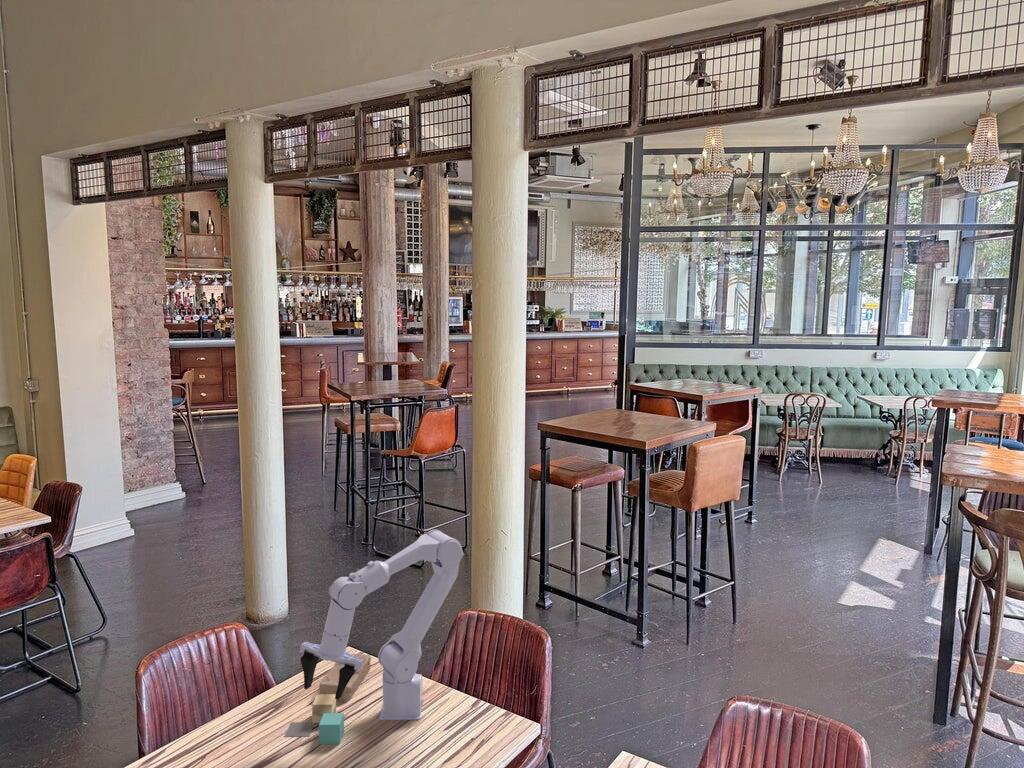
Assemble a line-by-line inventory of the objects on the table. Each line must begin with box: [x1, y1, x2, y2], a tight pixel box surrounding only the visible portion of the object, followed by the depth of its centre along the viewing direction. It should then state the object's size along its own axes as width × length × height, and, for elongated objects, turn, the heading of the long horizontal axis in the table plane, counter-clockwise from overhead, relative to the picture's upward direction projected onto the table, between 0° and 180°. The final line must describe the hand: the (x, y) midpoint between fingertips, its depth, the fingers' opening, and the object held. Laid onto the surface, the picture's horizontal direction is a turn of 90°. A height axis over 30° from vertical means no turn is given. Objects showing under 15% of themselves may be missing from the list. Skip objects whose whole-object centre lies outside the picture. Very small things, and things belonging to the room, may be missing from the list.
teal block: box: [318, 712, 345, 745], centre depth 155 cm, size 4×4×4 cm
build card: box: [283, 721, 316, 738], centre depth 159 cm, size 14×13×1 cm
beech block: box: [311, 694, 337, 724], centre depth 163 cm, size 4×4×4 cm
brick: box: [318, 653, 372, 703], centre depth 179 cm, size 16×8×5 cm, turn 173°
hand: (322, 692), depth 155 cm, fingers open, 7 cm apart
